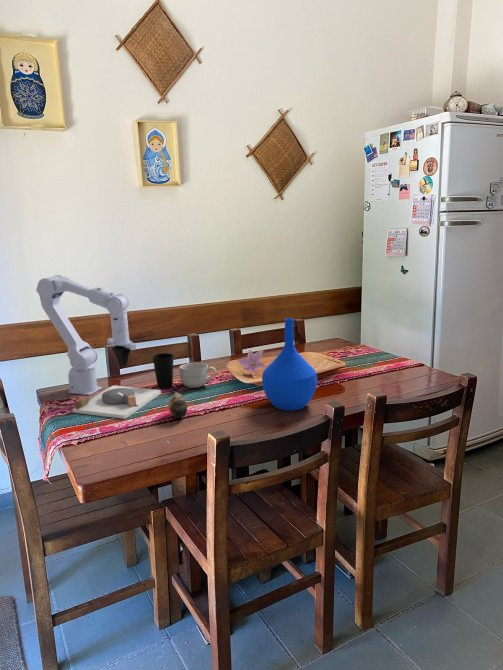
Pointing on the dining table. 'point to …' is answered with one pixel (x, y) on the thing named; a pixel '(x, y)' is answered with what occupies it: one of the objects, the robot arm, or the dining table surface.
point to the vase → (289, 376)
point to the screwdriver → (82, 402)
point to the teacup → (195, 374)
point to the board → (117, 410)
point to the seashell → (177, 405)
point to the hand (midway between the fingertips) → (123, 365)
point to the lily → (252, 361)
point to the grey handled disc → (119, 396)
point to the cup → (164, 370)
